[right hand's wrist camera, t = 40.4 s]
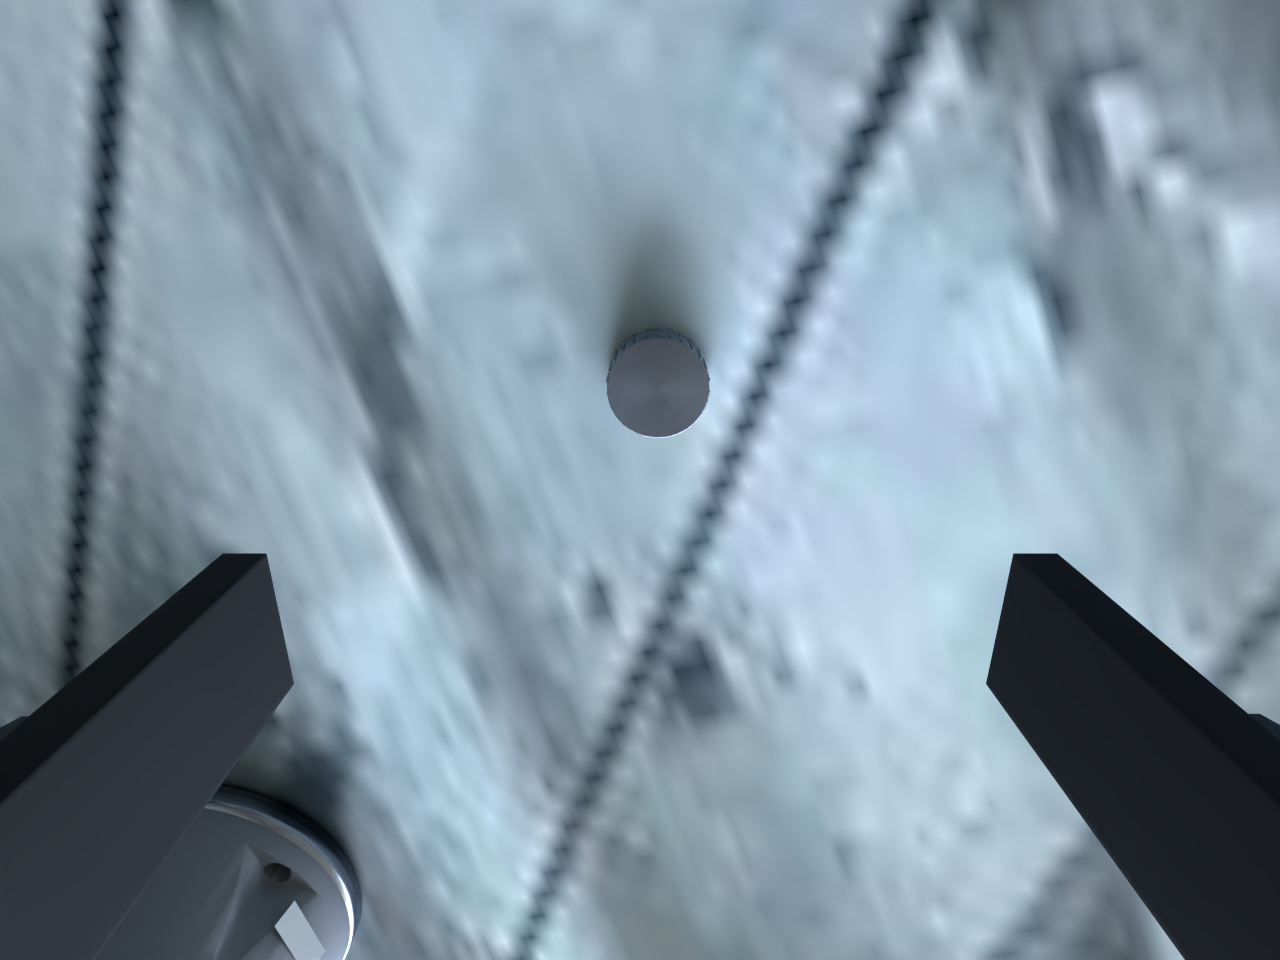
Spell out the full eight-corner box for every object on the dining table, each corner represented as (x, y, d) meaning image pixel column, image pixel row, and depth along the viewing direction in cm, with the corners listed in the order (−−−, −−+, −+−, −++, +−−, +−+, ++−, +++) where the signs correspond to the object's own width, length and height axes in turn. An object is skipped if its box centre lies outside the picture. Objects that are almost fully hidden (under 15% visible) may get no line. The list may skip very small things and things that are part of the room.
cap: (707, 325, 28) (711, 335, 26) (706, 423, 30) (710, 438, 28) (606, 328, 28) (603, 338, 26) (610, 424, 30) (607, 440, 28)
